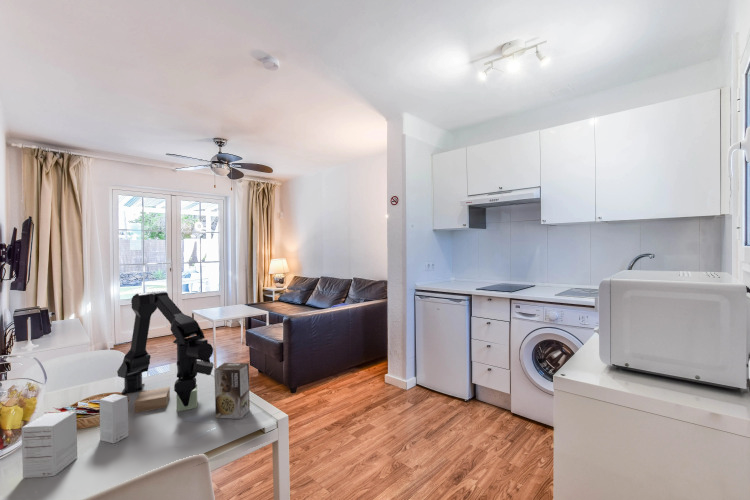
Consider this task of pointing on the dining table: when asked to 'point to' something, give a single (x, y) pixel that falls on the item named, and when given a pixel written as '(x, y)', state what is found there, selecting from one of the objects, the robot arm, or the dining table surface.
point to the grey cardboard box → (232, 390)
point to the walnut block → (152, 399)
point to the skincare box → (113, 418)
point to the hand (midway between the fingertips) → (187, 400)
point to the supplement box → (49, 444)
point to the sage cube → (191, 401)
